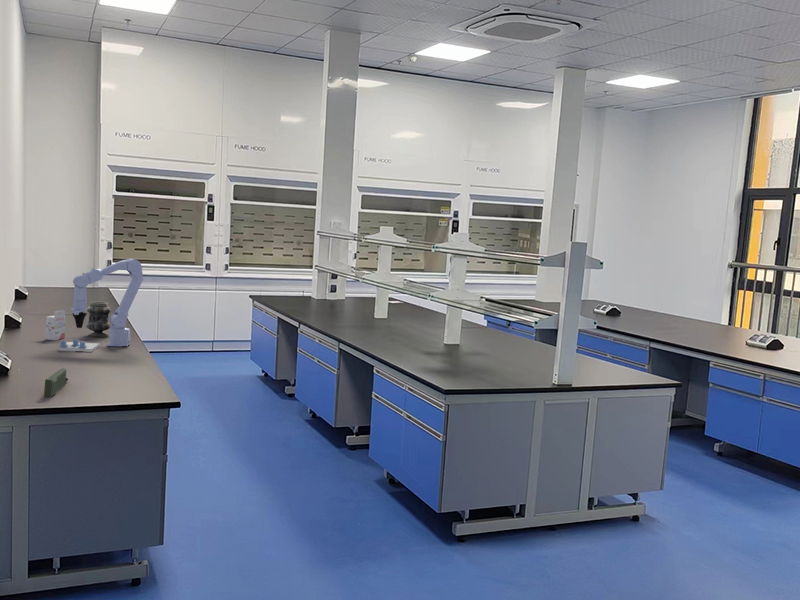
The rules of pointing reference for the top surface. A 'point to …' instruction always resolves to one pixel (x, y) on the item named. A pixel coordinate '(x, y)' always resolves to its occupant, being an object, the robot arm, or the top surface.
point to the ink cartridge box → (55, 326)
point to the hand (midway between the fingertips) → (79, 327)
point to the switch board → (75, 348)
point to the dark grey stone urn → (98, 318)
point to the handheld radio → (55, 382)
